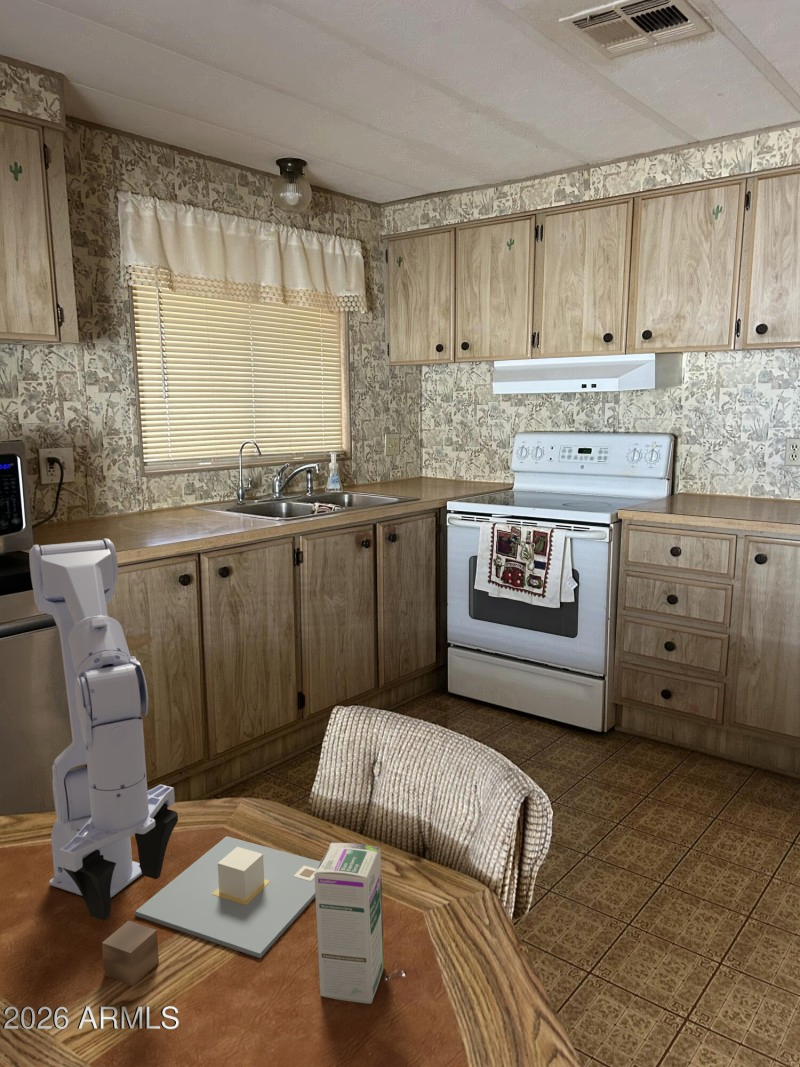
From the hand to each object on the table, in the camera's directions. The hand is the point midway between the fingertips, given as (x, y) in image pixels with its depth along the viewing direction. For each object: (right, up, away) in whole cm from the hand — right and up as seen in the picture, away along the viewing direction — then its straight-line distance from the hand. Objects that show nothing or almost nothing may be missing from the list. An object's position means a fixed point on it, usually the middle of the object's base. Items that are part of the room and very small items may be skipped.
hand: (126, 895), depth 86 cm
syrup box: (+24, -9, -1) cm, 26 cm away
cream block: (+9, -6, +15) cm, 18 cm away
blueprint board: (+9, -6, +15) cm, 19 cm away
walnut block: (0, -9, +2) cm, 9 cm away
